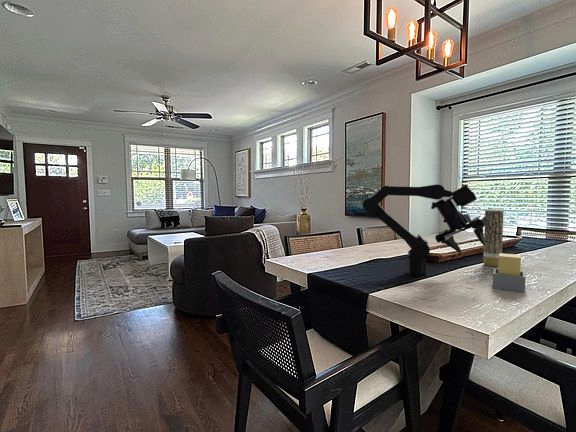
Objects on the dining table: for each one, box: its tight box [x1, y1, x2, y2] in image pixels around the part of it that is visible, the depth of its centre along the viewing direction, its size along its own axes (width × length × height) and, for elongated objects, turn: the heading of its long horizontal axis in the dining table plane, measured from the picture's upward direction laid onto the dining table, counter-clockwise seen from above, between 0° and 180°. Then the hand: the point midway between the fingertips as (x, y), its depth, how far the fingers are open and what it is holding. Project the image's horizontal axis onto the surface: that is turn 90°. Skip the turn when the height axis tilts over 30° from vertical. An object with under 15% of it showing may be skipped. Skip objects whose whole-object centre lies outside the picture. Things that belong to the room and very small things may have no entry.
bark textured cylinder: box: [482, 208, 504, 268], centre depth 138 cm, size 7×7×25 cm
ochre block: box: [497, 252, 522, 276], centre depth 107 cm, size 6×6×11 cm
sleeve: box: [492, 267, 527, 293], centre depth 107 cm, size 9×9×5 cm
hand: (472, 249), depth 118 cm, fingers open, 9 cm apart
